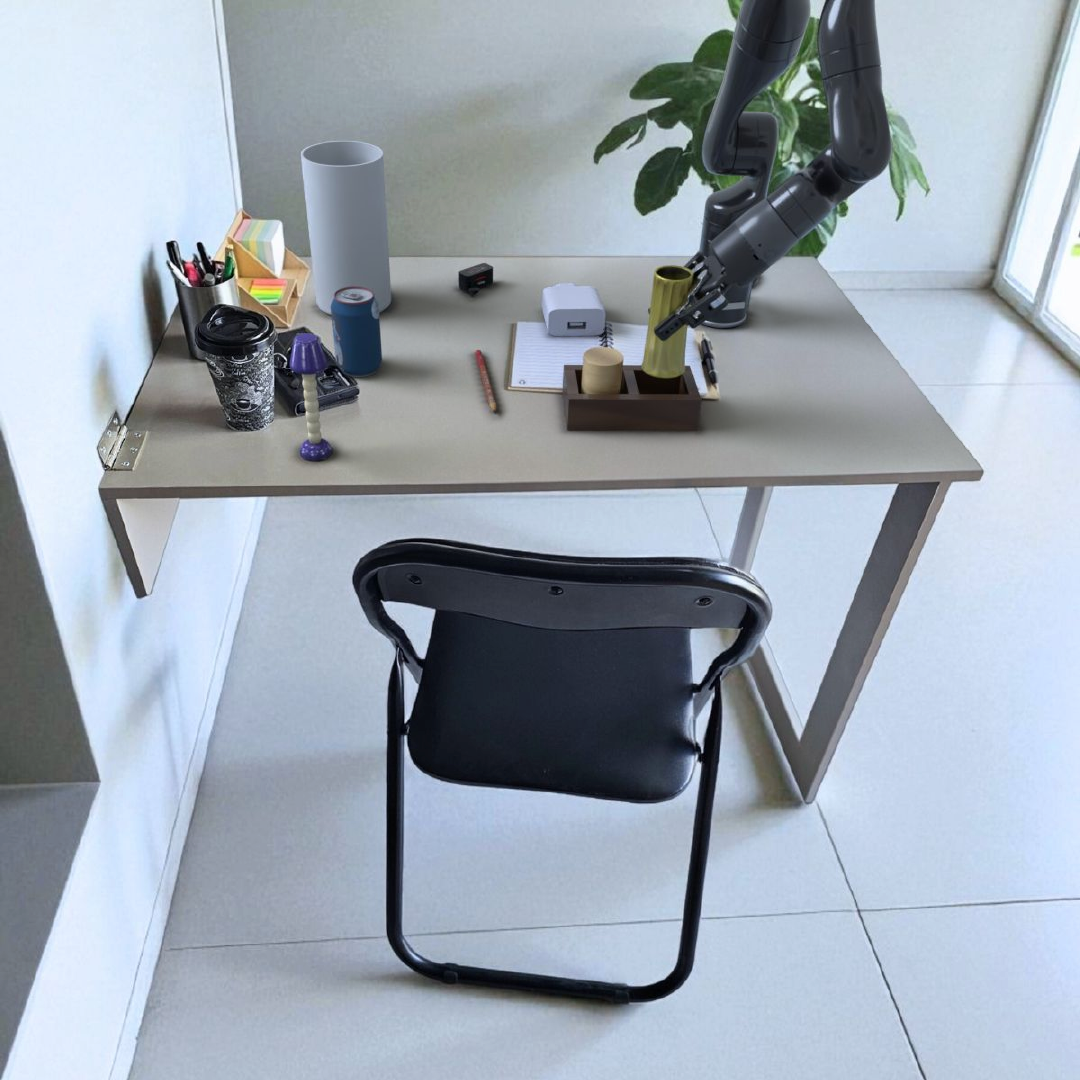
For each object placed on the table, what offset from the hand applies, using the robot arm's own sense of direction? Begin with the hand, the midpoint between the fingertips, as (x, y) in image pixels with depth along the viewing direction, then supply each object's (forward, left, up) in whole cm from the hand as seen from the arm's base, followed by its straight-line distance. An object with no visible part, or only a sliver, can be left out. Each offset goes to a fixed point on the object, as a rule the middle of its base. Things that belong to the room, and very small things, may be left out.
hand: (655, 325), depth 143 cm
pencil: (+11, -22, -14) cm, 28 cm away
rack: (+2, -2, -14) cm, 14 cm away
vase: (-1, +1, -7) cm, 7 cm away
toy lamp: (+40, -25, -14) cm, 49 cm away
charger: (-16, -29, -14) cm, 36 cm away
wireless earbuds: (-12, -47, -14) cm, 50 cm away
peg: (+5, -5, -14) cm, 15 cm away
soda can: (+21, -39, -14) cm, 46 cm away
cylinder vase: (+7, -57, -14) cm, 59 cm away
